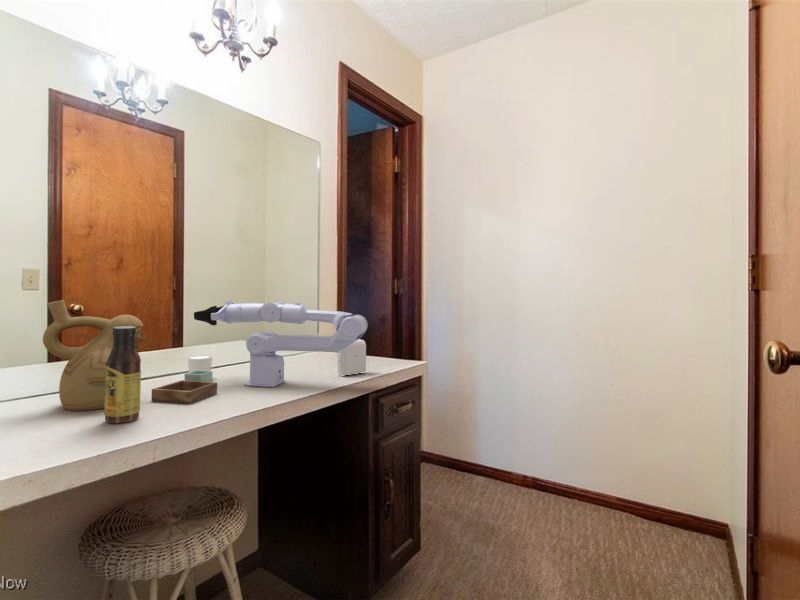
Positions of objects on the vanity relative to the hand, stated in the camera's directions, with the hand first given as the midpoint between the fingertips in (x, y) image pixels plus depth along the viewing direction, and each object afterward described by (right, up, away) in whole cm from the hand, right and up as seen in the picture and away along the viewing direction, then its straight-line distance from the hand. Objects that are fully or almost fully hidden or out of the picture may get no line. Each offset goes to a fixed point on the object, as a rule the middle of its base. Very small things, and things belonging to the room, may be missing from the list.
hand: (202, 314), depth 121 cm
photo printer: (+44, -21, +14) cm, 51 cm away
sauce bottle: (+2, -21, -38) cm, 43 cm away
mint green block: (+4, -21, -9) cm, 23 cm away
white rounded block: (-2, -21, +2) cm, 21 cm away
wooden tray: (+5, -21, -19) cm, 29 cm away
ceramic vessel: (-12, -21, -26) cm, 36 cm away
